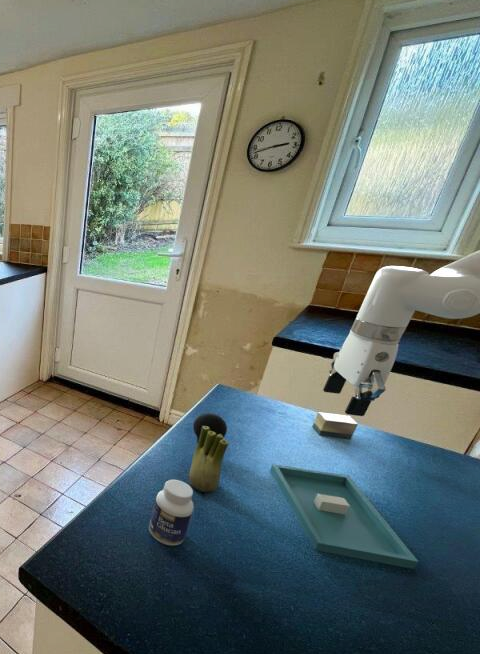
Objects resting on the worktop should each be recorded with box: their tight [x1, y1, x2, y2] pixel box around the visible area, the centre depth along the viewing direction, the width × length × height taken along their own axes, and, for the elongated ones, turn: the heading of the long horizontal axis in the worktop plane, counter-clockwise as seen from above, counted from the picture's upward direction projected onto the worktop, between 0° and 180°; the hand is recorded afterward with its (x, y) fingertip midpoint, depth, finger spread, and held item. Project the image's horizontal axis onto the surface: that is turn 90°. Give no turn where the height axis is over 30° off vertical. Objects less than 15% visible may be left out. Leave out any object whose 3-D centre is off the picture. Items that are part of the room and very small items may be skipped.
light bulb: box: [192, 412, 228, 444], centre depth 84 cm, size 6×6×10 cm
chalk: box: [314, 494, 350, 515], centre depth 72 cm, size 4×2×2 cm, turn 74°
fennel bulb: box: [188, 426, 229, 493], centre depth 76 cm, size 6×5×12 cm
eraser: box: [312, 411, 359, 440], centre depth 93 cm, size 6×4×4 cm, turn 74°
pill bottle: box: [148, 479, 195, 547], centre depth 66 cm, size 5×5×10 cm
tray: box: [269, 463, 420, 570], centre depth 71 cm, size 13×20×2 cm, turn 164°
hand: (341, 402), depth 91 cm, fingers open, 9 cm apart
